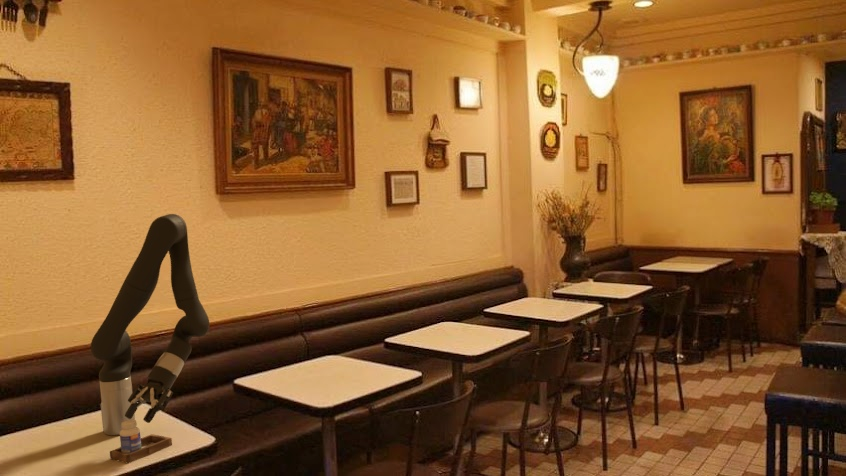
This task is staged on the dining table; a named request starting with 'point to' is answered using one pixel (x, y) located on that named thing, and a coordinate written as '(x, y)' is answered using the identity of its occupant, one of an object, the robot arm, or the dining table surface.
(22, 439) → the dining table surface
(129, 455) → the brown wooden rectangular frame
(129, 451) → the pill bottle
